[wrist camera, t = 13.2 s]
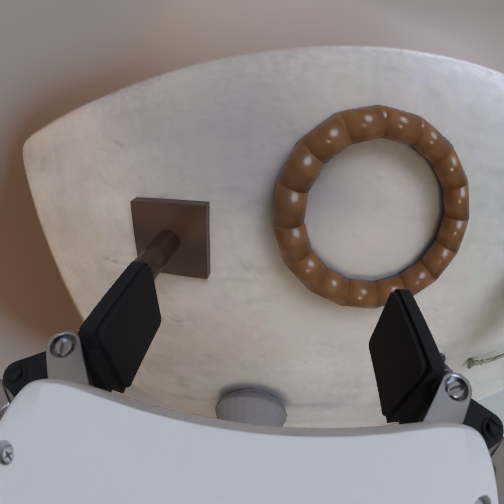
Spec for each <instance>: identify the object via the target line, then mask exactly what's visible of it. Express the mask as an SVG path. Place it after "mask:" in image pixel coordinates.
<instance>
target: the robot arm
mask: <svg viewBox="0 0 504 504" xmlns="http://www.w3.org/2000/svg"><path fill="white" fill-rule="evenodd" d="M160 323H161V314H160V309H159V304H158V299H157V294H156V289H155V283H154V277H153V272H152V268H151V267H149V266H148V264H147V263H146V262H139V261H133V262H131V264H130V265H129V266H128V267H127V268H126V269H125V271H124V272H123V273H122V274H121V276H120V277H119V278H118V279H117V280H116V282H115V283H114V284H113V285H112V287H111V288H110V289H109V290H108V292H107V293H106V294H105V295H104V297H103V298H102V299H101V300H100V302H99V303H98V304H97V306H96V307H95V308H94V310H93V311H92V312H91V313H90V315H89V316H88V317H87V319H86V320H85V321H84V323H83V324H82V326H81V327H80V331H79V332H78V333H77V334H76V333H75V332H73V331H61V332H58V333H56V334H55V335H53V336H52V337H51V338H50V339H49V341H48V343H47V345H46V351H45V352H42V353H39V354H36V355H34V356H31V357H28V358H25V359H22V360H19V361H16V362H14V363H12V364H10V365H9V366H8V367H7V369H6V370H5V372H4V375H3V380H1V379H0V504H504V437H503V425H502V422H501V420H500V419H499V417H497V416H496V415H495V414H493V413H492V412H491V411H489V410H488V409H486V408H485V407H483V406H482V405H480V404H479V403H477V402H476V401H474V400H473V399H471V395H472V389H471V385H470V383H469V382H468V380H467V379H466V378H465V377H464V376H462V375H461V374H458V373H454V372H451V373H448V374H446V373H445V365H444V363H443V360H442V358H441V355H440V353H439V350H438V348H437V346H436V343H435V341H434V339H433V337H432V334H431V332H430V330H429V328H428V326H427V324H426V321H425V319H424V317H423V315H422V313H421V311H420V309H419V307H418V305H417V303H416V301H415V299H414V297H413V295H412V293H411V291H410V290H406V289H395V290H394V292H391V293H390V295H389V297H388V299H387V302H386V304H385V307H384V309H383V311H382V314H381V316H380V318H379V321H378V323H377V325H376V327H375V330H374V332H373V334H372V336H371V338H370V341H369V350H370V354H371V359H372V363H373V368H374V372H375V377H376V382H377V387H378V392H379V397H380V403H381V408H382V413H383V415H384V416H386V419H387V423H391V422H399V424H398V425H388V426H374V427H359V428H295V427H279V426H267V425H257V424H248V423H240V422H233V421H226V420H220V419H214V418H209V417H203V416H198V415H193V414H188V413H184V412H179V411H175V410H171V409H167V408H162V407H159V406H155V405H151V404H148V403H144V402H141V401H138V400H134V399H130V398H127V397H124V396H121V395H118V394H115V393H111V391H112V390H115V391H118V392H120V393H124V390H125V388H126V387H129V386H130V385H131V383H132V381H133V379H134V377H135V375H136V373H137V371H138V369H139V367H140V365H141V362H142V360H143V358H144V356H145V354H146V352H147V350H148V348H149V346H150V344H151V342H152V340H153V338H154V336H155V334H156V332H157V330H158V328H159V326H160Z"/></svg>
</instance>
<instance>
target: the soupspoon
mask: <svg viewBox="0 0 504 504" xmlns="http://www.w3.org/2000/svg"><path fill="white" fill-rule="evenodd" d="M502 357H504V354H501V355H499V356H496V357H493V358H490V359H486V360H482V359H481V360H480V361H479V360H472V359H471V358H470V359H469V360H468V364H467V365H468V366H467V367H468V368H471V366H474V365H479V364H480V365H482V364H483V363H486V362H490V361H493V360H496V359H499V358H502Z"/></svg>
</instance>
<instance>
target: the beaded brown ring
mask: <svg viewBox="0 0 504 504" xmlns="http://www.w3.org/2000/svg"><path fill="white" fill-rule="evenodd" d="M380 138H384V139H388V140H392V141H396V142H400V143H404V144H408V145H410V146H412V147H413V148H414V149H415V150H417V151H418V152H419V153H420V154H422V155H423V156H424V157H425V158H426V159H427V160H429V161H430V162H431V164H432V166H433V168H434V170H435V172H436V174H437V176H438V178H439V180H440V182H441V184H442V188H443V202H444V215H443V218H442V222H441V225H440V228H439V232H438V235H437V238H436V240H435V241H434V242H433V244H432V245H431V246H430V248H429V249H428V251H427V252H426V253H425V255H424V256H423V257H422V258H421V260H420V261H418V262H417V263H415V264H414V265H412V266H411V267H409V268H408V269H406V270H405V271H403V272H402V273H400V274H399V275H396V276H392V277H388V278H385V279H381V280H377V281H365V280H355V279H348V278H346V277H344V276H342V275H341V274H339V273H337V272H335V271H333V270H331V269H329V268H327V267H326V266H325V264H324V263H323V262H322V261H321V259H320V258H319V257H318V256H317V254H316V253H315V252H314V251H313V250H312V248H311V246H310V242H309V238H308V235H307V231H306V227H305V224H304V218H305V211H306V204H307V197H308V191H309V190H310V188H311V186H312V185H313V183H314V181H315V180H316V178H317V176H318V175H319V173H320V171H321V169H322V168H323V166H324V164H325V163H327V162H328V161H329V160H331V159H332V158H334V157H335V156H336V155H338V154H339V153H340V152H342V151H343V150H344V149H346V148H347V147H349V146H350V145H351V144H356V143H360V142H365V141H370V140H375V139H380ZM468 220H469V191H468V180H467V177H466V175H465V172H464V170H463V168H462V165H461V163H460V161H459V158H458V156H457V154H456V152H455V150H454V148H453V146H452V144H451V143H450V142H449V141H448V140H447V139H446V138H445V137H444V136H443V135H442V134H441V133H439V132H438V131H437V130H436V129H435V128H434V127H433V126H432V125H430V124H429V123H428V122H427V121H426V120H425V119H423V118H422V117H420V116H418V115H415V114H412V113H408V112H405V111H401V110H398V109H394V108H391V107H387V106H383V105H374V106H368V107H363V108H357V109H352V110H347V111H343V112H338V113H335V114H333V115H332V116H330V117H329V118H328V119H326V120H325V121H324V122H322V123H321V124H320V125H318V126H317V127H316V128H314V129H313V130H312V131H310V132H309V133H308V134H306V135H305V136H304V137H302V138H301V139H300V140H299V141H298V142H297V144H296V145H295V147H294V149H293V151H292V152H291V154H290V156H289V158H288V160H287V161H286V163H285V165H284V167H283V169H282V171H281V172H280V174H279V176H278V178H277V180H276V184H275V194H274V204H273V215H272V227H273V230H274V233H275V236H276V239H277V242H278V245H279V248H280V251H281V255H282V258H283V260H284V263H285V264H286V265H287V267H288V268H289V269H290V270H291V271H292V272H293V273H294V274H295V275H296V277H297V278H298V279H299V280H300V281H301V282H302V283H303V284H304V285H305V287H306V288H307V289H308V290H310V291H311V292H313V293H315V294H317V295H319V296H321V297H324V298H326V299H328V300H330V301H332V302H334V303H336V304H338V305H341V306H350V307H363V308H378V307H382V306H385V304H386V302H387V299H388V297H389V295H390V293H391V292H394V290H395V289H406V290H410V291H411V293H412V295H413V296H414V295H415V294H417V293H418V292H420V291H421V290H423V289H424V288H426V287H427V286H429V285H430V284H432V283H433V282H435V281H436V280H437V279H438V277H439V276H440V275H441V274H442V272H443V271H444V270H445V269H446V267H447V266H448V265H449V263H450V262H451V261H452V260H453V258H454V257H455V255H456V254H457V252H458V250H459V247H460V244H461V242H462V239H463V236H464V233H465V230H466V227H467V223H468Z"/></svg>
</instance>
